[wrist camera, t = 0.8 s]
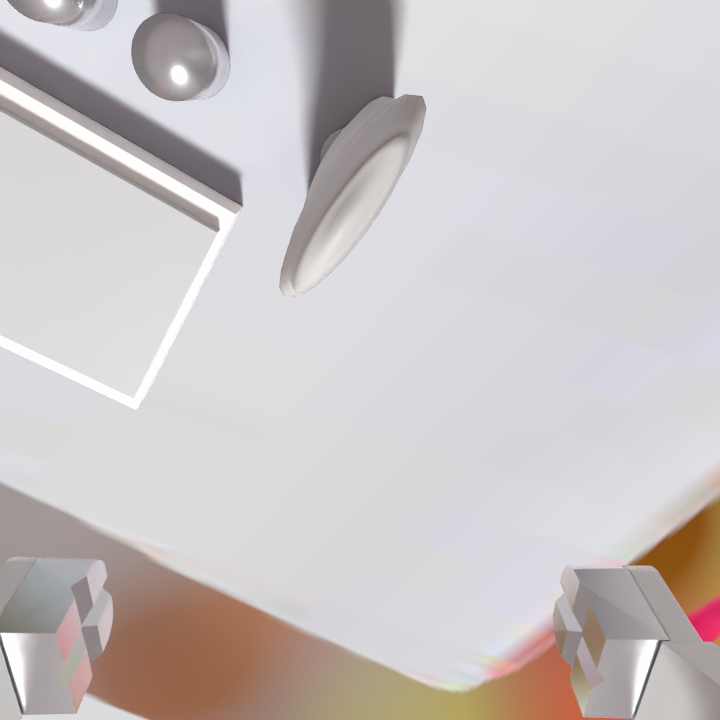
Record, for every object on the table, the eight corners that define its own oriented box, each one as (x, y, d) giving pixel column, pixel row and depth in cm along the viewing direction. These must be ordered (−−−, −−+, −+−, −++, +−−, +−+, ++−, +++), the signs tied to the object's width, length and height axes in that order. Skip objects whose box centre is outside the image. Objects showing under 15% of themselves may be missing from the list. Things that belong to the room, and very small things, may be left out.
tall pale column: (369, 73, 41) (387, 59, 21) (416, 110, 42) (478, 133, 22) (285, 202, 44) (231, 298, 24) (330, 234, 45) (315, 351, 25)
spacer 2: (178, 7, 39) (150, -5, 34) (241, 48, 40) (224, 42, 35) (150, 74, 41) (119, 73, 35) (212, 112, 42) (191, 116, 36)
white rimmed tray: (-65, 28, 39) (-108, 23, 36) (242, 206, 44) (233, 217, 41) (-128, 259, 46) (-170, 274, 42) (147, 392, 51) (132, 416, 47)
